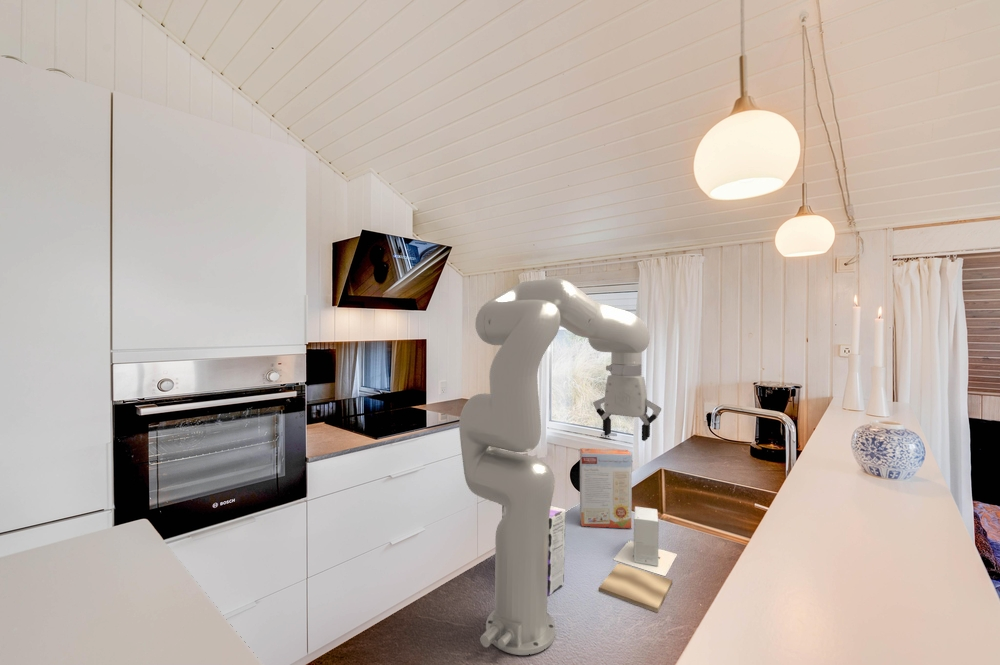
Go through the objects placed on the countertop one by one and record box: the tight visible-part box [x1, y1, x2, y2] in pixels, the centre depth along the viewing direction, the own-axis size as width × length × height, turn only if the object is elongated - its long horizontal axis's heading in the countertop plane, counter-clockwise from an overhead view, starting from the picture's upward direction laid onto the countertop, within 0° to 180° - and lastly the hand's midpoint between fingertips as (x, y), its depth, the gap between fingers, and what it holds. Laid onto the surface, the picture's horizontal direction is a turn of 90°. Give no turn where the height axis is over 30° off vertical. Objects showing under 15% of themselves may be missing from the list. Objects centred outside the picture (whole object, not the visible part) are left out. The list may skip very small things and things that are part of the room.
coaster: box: [598, 562, 673, 613], centre depth 92 cm, size 12×12×1 cm
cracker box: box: [579, 447, 633, 529], centre depth 123 cm, size 14×6×21 cm, turn 84°
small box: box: [633, 505, 660, 566], centre depth 105 cm, size 8×6×10 cm
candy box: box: [501, 505, 566, 596], centre depth 95 cm, size 14×6×16 cm, turn 47°
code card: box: [612, 540, 678, 577], centre depth 105 cm, size 12×12×1 cm
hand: (625, 437), depth 111 cm, fingers open, 9 cm apart
